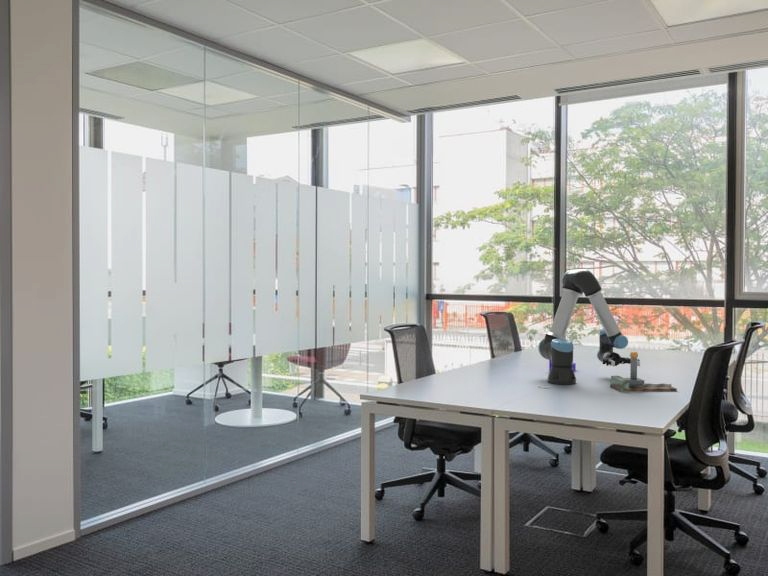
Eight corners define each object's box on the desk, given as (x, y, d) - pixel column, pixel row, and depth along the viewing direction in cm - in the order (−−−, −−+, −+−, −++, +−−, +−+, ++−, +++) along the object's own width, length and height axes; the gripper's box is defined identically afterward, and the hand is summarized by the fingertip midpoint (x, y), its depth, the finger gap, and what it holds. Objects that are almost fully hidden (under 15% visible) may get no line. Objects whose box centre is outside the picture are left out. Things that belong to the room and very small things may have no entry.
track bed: (619, 391, 347) (619, 380, 347) (609, 387, 361) (609, 375, 361) (677, 391, 348) (677, 380, 348) (665, 387, 362) (665, 375, 362)
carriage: (629, 386, 350) (629, 352, 350) (622, 383, 358) (623, 350, 358) (644, 386, 350) (644, 352, 350) (637, 383, 358) (638, 350, 358)
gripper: (633, 365, 385) (649, 370, 364) (590, 365, 384) (603, 370, 363) (634, 352, 385) (650, 356, 363) (590, 351, 384) (603, 356, 363)
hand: (626, 363), depth 363 cm, fingers open, 13 cm apart
